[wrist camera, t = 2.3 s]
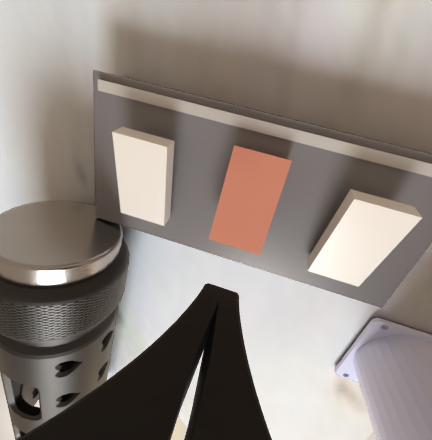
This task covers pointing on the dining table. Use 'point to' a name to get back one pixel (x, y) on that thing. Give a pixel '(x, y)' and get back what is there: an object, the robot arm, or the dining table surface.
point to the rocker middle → (249, 199)
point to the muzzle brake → (56, 306)
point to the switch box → (292, 190)
